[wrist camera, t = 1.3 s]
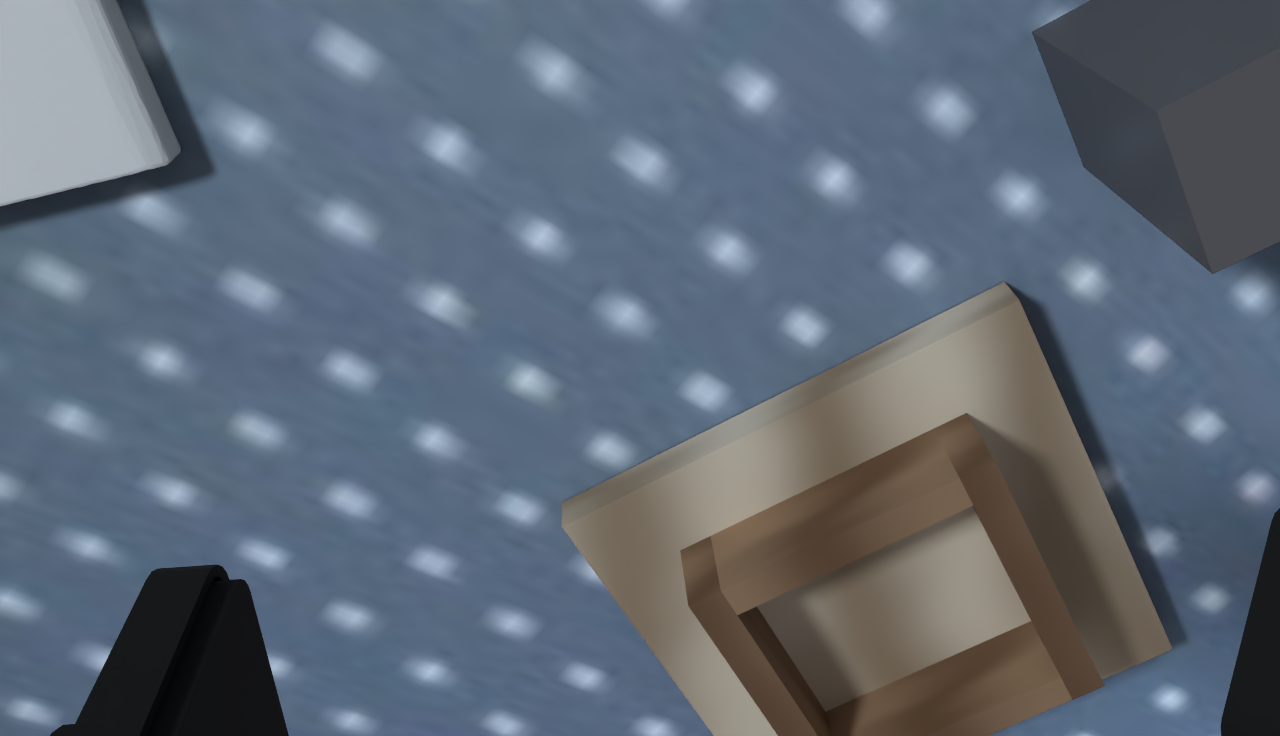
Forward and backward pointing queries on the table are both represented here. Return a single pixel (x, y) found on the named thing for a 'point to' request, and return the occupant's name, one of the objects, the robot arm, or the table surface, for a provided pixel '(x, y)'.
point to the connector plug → (1178, 114)
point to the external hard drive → (74, 99)
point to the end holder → (881, 546)
